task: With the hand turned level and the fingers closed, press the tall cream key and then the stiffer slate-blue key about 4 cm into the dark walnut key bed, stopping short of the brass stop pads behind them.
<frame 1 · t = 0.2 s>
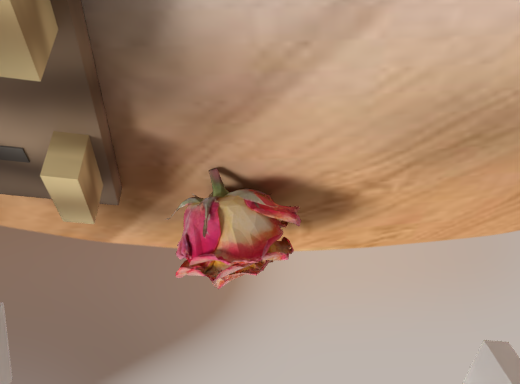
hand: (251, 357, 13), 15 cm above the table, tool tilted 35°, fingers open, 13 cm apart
flower: (241, 184, 36), on the table
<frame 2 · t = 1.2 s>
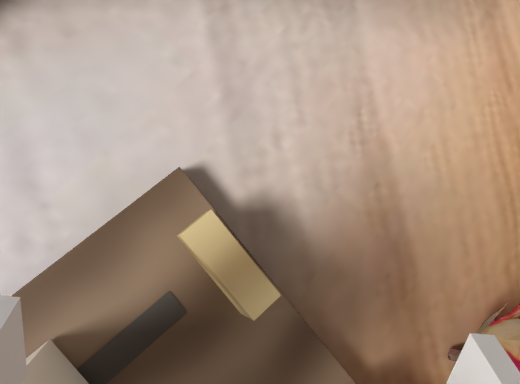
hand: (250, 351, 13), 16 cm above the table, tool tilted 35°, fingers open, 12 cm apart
flower: (485, 356, 34), on the table
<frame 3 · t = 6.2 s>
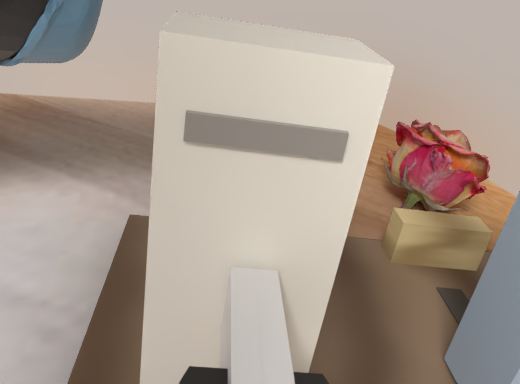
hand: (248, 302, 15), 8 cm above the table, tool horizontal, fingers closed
key cream: (241, 240, 17), point 9 cm above the table, slide at 0.0 cm, touching gripper
key bed: (344, 341, 26), on the table
flower: (419, 208, 42), on the table
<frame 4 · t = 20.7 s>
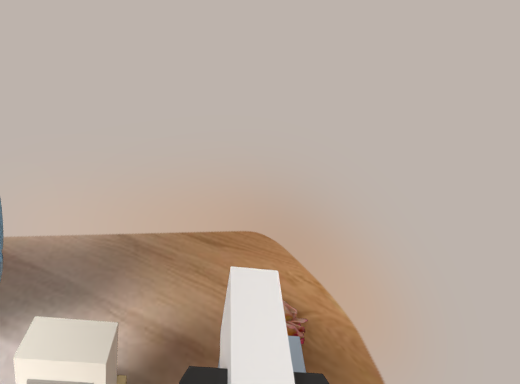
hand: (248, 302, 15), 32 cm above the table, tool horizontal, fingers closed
flower: (266, 347, 57), on the table
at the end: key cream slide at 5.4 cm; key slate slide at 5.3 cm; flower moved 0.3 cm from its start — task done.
